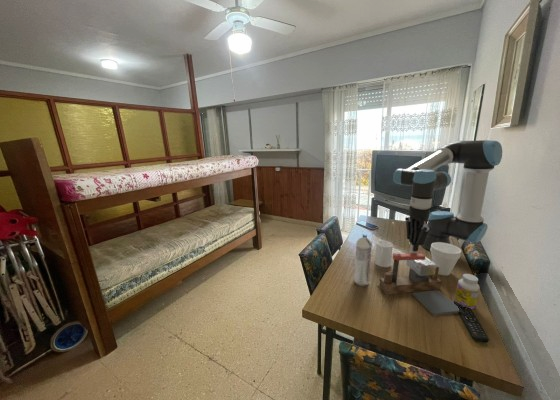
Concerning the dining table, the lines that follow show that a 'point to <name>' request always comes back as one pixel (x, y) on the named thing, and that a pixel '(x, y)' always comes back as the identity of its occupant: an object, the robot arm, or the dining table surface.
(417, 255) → the lever
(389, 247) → the mug
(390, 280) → the brown wooden stand
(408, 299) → the dining table surface
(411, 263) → the light grey block
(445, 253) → the cup
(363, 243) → the water bottle
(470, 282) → the supplement bottle
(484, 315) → the dining table surface
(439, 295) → the mat
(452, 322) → the dining table surface
